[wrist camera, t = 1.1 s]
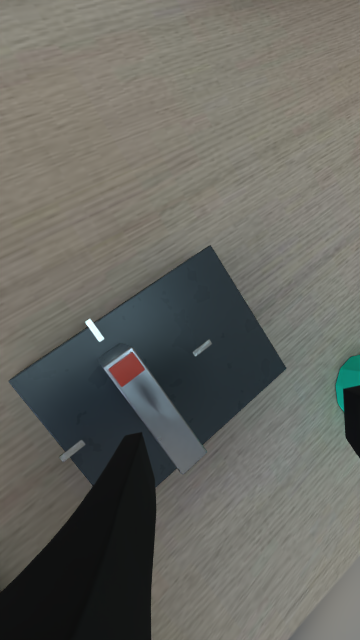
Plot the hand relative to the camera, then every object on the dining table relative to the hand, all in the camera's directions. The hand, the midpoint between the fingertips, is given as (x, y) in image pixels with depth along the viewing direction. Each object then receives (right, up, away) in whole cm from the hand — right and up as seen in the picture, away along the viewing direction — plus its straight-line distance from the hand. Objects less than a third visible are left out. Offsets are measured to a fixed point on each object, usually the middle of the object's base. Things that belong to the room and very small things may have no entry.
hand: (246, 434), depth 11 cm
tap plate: (-4, +1, +11) cm, 11 cm away
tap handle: (-5, 0, +7) cm, 8 cm away
